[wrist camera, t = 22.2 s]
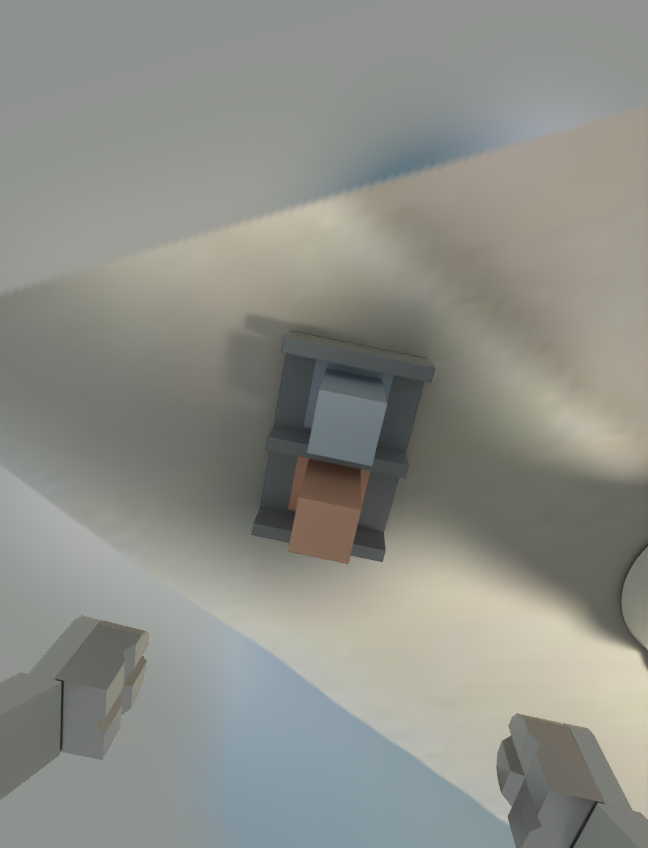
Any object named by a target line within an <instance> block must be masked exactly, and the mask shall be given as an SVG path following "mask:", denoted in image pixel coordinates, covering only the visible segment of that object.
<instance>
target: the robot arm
mask: <svg viewBox="0 0 648 848" xmlns="http://www.w3.org/2000/svg"><path fill="white" fill-rule="evenodd" d="M621 603H622V612H623V617H624V620H625V622H626V624H627V627H628V628H629V630H630V632H631V633H632V634H633V636H634V637H635V638H636V639H637V640H638V641H639V642H640V643H641V644H642V645H643V646H644V647H645V648H646V649H647V650H648V547H647V548H646V549H645V550H644V551H643V552H642V553H641V554H640V556H639V557H638V558H637V560H636V561H635V562H634V564H633V566H632V567H631V569H630V571H629V573H628V575H627V577H626V580H625V583H624V586H623V591H622V600H621ZM148 637H149V633H148V632H147V631H144V630H140V629H136V628H132V627H128V626H123V625H120V624H115V623H112V622H108V621H102V620H97V619H93V618H89V617H86V616H80V617H79V618H77V619H75V620H74V621H73V622H72V624H71V625H70V626H69V627H68V628H67V630H65V632H64V633H63V634H62V635H61V636H60V637H59V639H58V640H57V641H56V642H55V643H54V645H53V646H52V647H51V648H50V649H49V650H48V651H47V653H46V654H45V655H44V656H43V657H42V659H41V660H40V661H39V662H38V663H37V664H36V665H35V666H34V668H33V669H32V670H31V671H30V672H29V673H28V674H26V673H19V674H17V675H15V676H13V677H11V678H9V679H6V680H4V681H2V682H0V800H1V799H2V798H4V797H5V796H6V795H8V794H9V793H10V792H12V791H13V790H14V789H16V788H17V787H18V786H19V785H21V784H22V783H23V782H25V781H26V780H27V779H29V778H30V777H31V776H32V775H34V774H35V773H36V772H38V771H39V770H40V769H42V768H43V767H44V766H46V765H47V764H48V763H50V762H51V761H52V760H54V759H55V758H56V757H57V756H59V755H60V752H65V753H70V754H75V755H80V756H85V757H90V758H95V759H100V760H103V758H104V756H105V754H106V753H107V751H108V749H109V747H110V746H111V744H112V742H113V740H114V738H115V736H116V735H117V733H118V731H119V729H120V722H121V715H122V714H124V713H125V712H127V711H128V710H129V709H131V707H132V706H133V704H134V702H135V700H136V698H137V696H138V693H139V691H140V688H141V685H142V683H143V679H144V675H145V671H146V660H145V658H144V656H143V653H144V652H145V650H146V648H147V646H148V639H149V638H148ZM509 729H510V733H511V736H510V737H508V738H506V739H505V740H503V741H502V742H501V745H500V748H499V750H498V753H497V767H496V768H497V777H498V782H499V786H500V790H501V793H502V795H503V796H504V797H505V798H506V800H507V801H508V802H509V804H510V805H511V806H512V808H511V810H510V812H509V815H508V820H509V824H510V828H511V831H512V835H513V838H514V842H515V846H516V848H648V820H647V819H646V818H645V817H644V816H643V815H642V814H641V813H640V812H636V811H633V810H632V809H631V807H630V805H629V803H628V801H627V799H626V797H625V795H624V793H623V791H622V789H621V787H620V785H619V783H618V781H617V779H616V777H615V775H614V773H613V771H612V770H611V768H610V766H609V764H608V762H607V760H606V758H605V756H604V754H603V752H602V750H601V748H600V746H599V744H598V742H597V740H596V738H595V736H594V735H593V733H592V732H591V731H590V730H589V729H588V728H584V727H579V726H574V725H570V724H565V723H563V724H562V723H560V722H556V721H551V720H546V719H541V718H537V717H532V716H527V715H522V714H518V713H517V714H516V715H514V716H513V717H512V719H511V721H510V723H509Z"/></svg>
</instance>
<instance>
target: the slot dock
mask: <svg viewBox="0 0 648 848" xmlns="http://www.w3.org/2000/svg"><path fill="white" fill-rule="evenodd" d="M281 352H283V353H286V356H285V362H284V368H283V374H282V380H281V386H280V392H279V398H278V404H277V410H276V416H275V422H274V426H273V428H272V430H271V432H270V433H269V435H268V438H267V444H266V450H270V452H269V458H268V465H267V471H266V477H265V483H264V489H263V495H262V501H261V507H260V510H259V512H258V514H257V517H256V519H255V521H254V524H253V530H252V535H255V536H259V537H264V538H269V539H274V540H279V541H284V542H288V543H290V538H291V533H292V528H293V523H294V518H295V513H296V507H297V502H298V497H299V493H300V490H301V486H302V482H303V479H304V475H305V472H306V468H307V464H308V461H309V459H314V460H318V461H323V462H328V463H333V464H338V465H343V466H348V467H352V468H357V469H361V513H360V517H359V521H358V525H357V530H356V534H355V538H354V542H353V546H352V550H351V554H350V555H351V556H356V557H361V558H366V559H370V560H375V561H380V562H383V558H384V554H385V541H384V530H385V526H386V523H387V519H388V515H389V511H390V507H391V504H392V500H393V496H394V492H395V489H396V485H397V481H398V477H401V478H405V477H406V473H407V469H408V466H409V465H408V461H407V458H406V454H405V451H406V447H407V443H408V440H409V436H410V432H411V428H412V425H413V421H414V417H415V413H416V410H417V406H418V402H419V398H420V395H421V391H422V387H423V383H424V381H426V382H431V381H432V377H433V373H434V370H435V367H434V366H433V365H432V363H431V362H430V361H429V360H428V359H427V358H422V357H417V356H412V355H407V354H402V353H397V352H392V351H388V350H383V349H378V348H373V347H368V346H363V345H358V344H353V343H348V342H343V341H338V340H333V339H328V338H323V337H319V336H314V335H309V334H304V333H299V332H294V331H291V332H289V333H288V334H287V335H286V336H284V339H283V345H282V351H281ZM326 369H332V370H337V371H342V372H347V373H352V374H357V375H362V376H367V377H372V378H376V379H381V380H382V382H383V387H384V391H385V396H386V400H387V407H386V411H385V415H384V419H383V423H382V427H381V431H380V435H379V439H378V444H377V448H376V452H375V456H374V460H373V464H372V466H369V465H364V464H359V463H354V462H349V461H344V460H340V459H335V458H330V457H325V456H320V455H315V454H310V453H307V451H308V445H309V440H310V435H311V430H312V425H313V420H314V414H315V409H316V404H317V399H318V394H319V389H320V386H321V383H322V380H323V378H324V375H325V372H326Z"/></svg>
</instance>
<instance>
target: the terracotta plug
mask: <svg viewBox="0 0 648 848" xmlns="http://www.w3.org/2000/svg"><path fill="white" fill-rule="evenodd" d="M360 513H361V469H357V468H352V467H348V466H343V465H338V464H333V463H328V462H323V461H318V460H314V459H309V461H308V464H307V468H306V472H305V475H304V479H303V482H302V486H301V490H300V493H299V497H298V502H297V507H296V513H295V518H294V523H293V528H292V533H291V538H290V544H289V549H288V552H293V553H298V554H303V555H308V556H312V557H317V558H322V559H327V560H332V561H336V562H341V563H346V564H348V562H349V558H350V554H351V550H352V546H353V542H354V538H355V534H356V530H357V525H358V521H359V517H360Z"/></svg>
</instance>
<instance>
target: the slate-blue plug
mask: <svg viewBox="0 0 648 848" xmlns="http://www.w3.org/2000/svg"><path fill="white" fill-rule="evenodd" d="M386 407H387V400H386V396H385V391H384V387H383V382H382V380H381V379H376V378H372V377H367V376H362V375H357V374H352V373H347V372H342V371H337V370H332V369H326V372H325V375H324V378H323V380H322V383H321V386H320V389H319V394H318V399H317V404H316V409H315V414H314V420H313V425H312V430H311V435H310V440H309V445H308V451H307V453H310V454H315V455H320V456H325V457H330V458H335V459H340V460H344V461H349V462H354V463H359V464H364V465H369V466H372V464H373V460H374V456H375V452H376V448H377V444H378V439H379V435H380V431H381V427H382V423H383V419H384V415H385V411H386Z"/></svg>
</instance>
